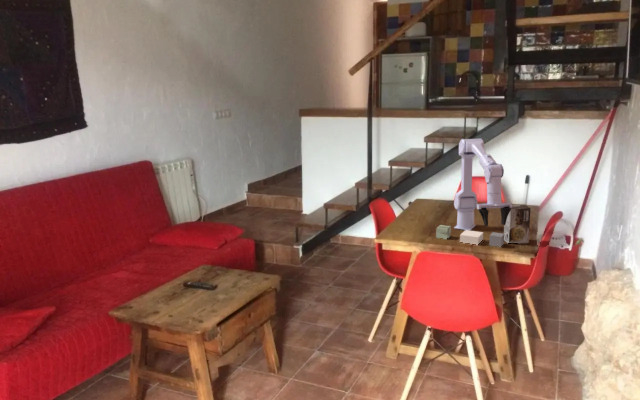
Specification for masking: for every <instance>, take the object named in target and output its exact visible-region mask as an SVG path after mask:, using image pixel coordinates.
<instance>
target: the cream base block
mask: <svg viewBox="0 0 640 400" xmlns="http://www.w3.org/2000/svg"><path fill="white" fill-rule="evenodd" d="M482 240H483V241H484V232H482V231H475V230H464V231H463V232H461V234H460V235H459V243H460V242H463V243H462V244H465V243H470V244H469V245H472V244H476V245H475V246H479V245H480V244H481V243H482V242H483V241H482ZM481 241H482V242H481ZM480 242H481V243H480ZM479 243H480V244H479ZM478 244H479V245H478Z"/></svg>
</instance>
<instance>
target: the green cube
mask: <svg viewBox="0 0 640 400" xmlns="http://www.w3.org/2000/svg"><path fill="white" fill-rule="evenodd" d="M451 226H452V225H451ZM451 226H450V225H443V224H440V225H438V226H437V227H436V229H435V239H440V238H443V239H442V240H446V239H447V238H448V239H449V238H451V231H452V230H451ZM448 239H447V240H448Z"/></svg>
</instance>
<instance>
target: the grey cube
mask: <svg viewBox="0 0 640 400" xmlns="http://www.w3.org/2000/svg"><path fill="white" fill-rule="evenodd" d="M504 235H505V234H504V233H503V232H494V231H492V232H491V234H489V243H488V246H489V245H491V246H490V247H492V246H499V247H501V246H502V245H503V244H505V241H504ZM503 246H504V245H503ZM503 246H502V247H503ZM499 247H498V248H499ZM502 247H501V248H502Z"/></svg>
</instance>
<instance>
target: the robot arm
mask: <svg viewBox="0 0 640 400" xmlns="http://www.w3.org/2000/svg"><path fill="white" fill-rule="evenodd" d="M458 156H460V157H461V172H460V173H461V174H460V177H461V179H460V183H461V184H460V190H459V191H458V192H456V193H455V194H454V200H453V206H454V209H455V210H456V211H457V216H456V217H457V218H456V225H455V226H454V227H453V229H456V230H464V231H465V230H469V231H472V230H473V229H474V228H475V227H476V226H477V224H475V209H477V210H478V212H479V214H480V215H481V218H482V220H483V221H482V222H483V225H484V226H485V227H488V226H489V212H490V210H489V209H499V210H500V216H501V223H500V224H501V225H503V226H504V225H505V224H506V220H507V217H508V214H509V212H510V211H511V208H509V207H512V205H513V203H512V202H503V201H502V200H503V199H502V178H503V177H504V175H505V173H504V172H505V170H504V166H503V164H501V163H497V162H496V160H495V159H494V158H493V157H492V155H491V154H488V153H487V152H486V150H485V143H484V140H483V138H480V137H479V138H461V139H460V141H459V142H458ZM475 156H476V157H477V158H478V159H479V160H478V163H479V165H480V166H481V168H482V169H483V170H484V171H483V173H484V174H483V175H484V178H485V183H486V199H487V200H486V201H487V202H486V203H478V198H477V194H476V192H475V191H473V187H472V186H473V158H474V157H475Z"/></svg>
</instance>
